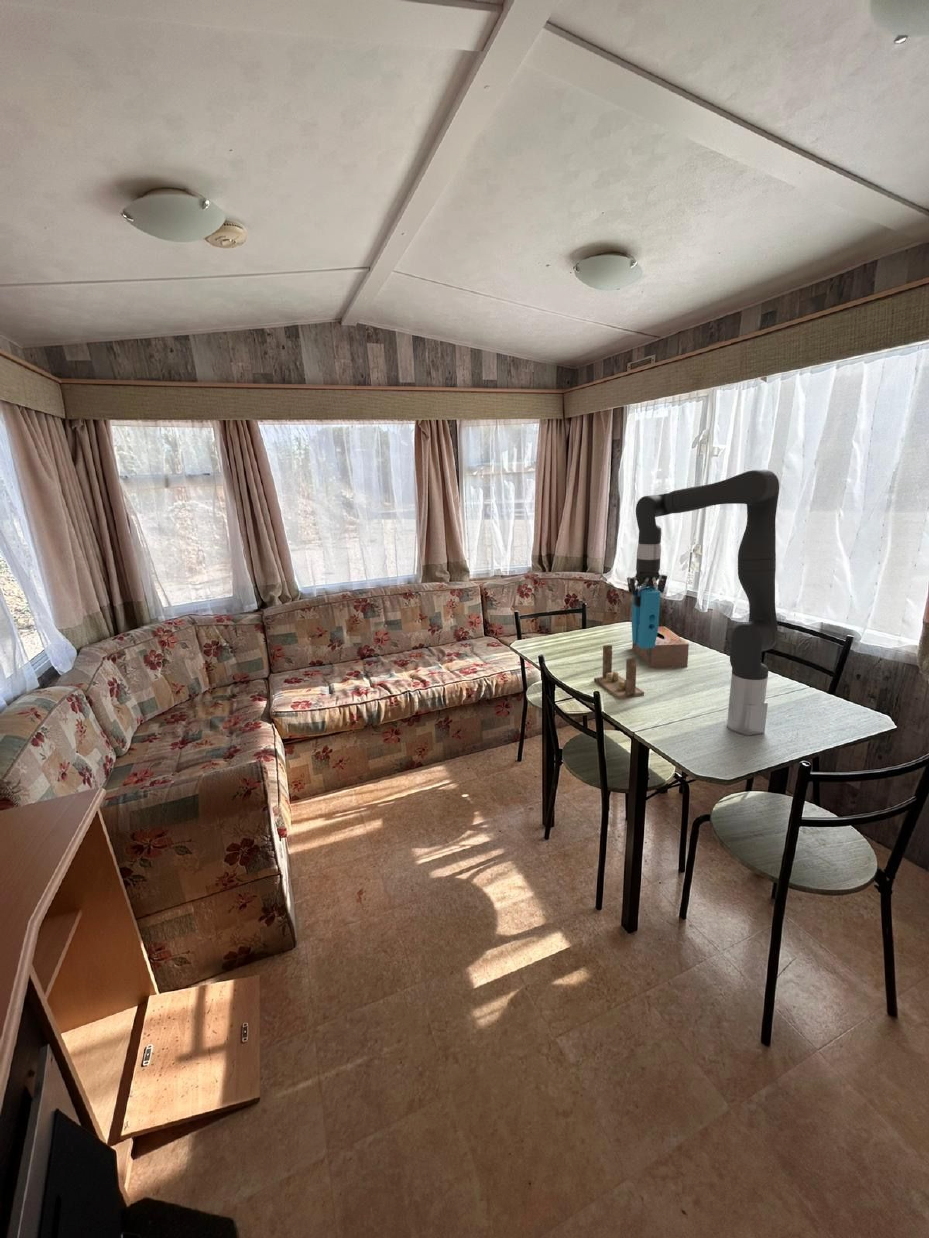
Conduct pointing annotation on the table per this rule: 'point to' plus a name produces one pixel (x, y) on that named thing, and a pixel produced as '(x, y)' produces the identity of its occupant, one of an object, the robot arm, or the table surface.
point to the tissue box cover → (665, 650)
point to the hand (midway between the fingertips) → (645, 605)
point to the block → (646, 618)
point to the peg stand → (618, 677)
